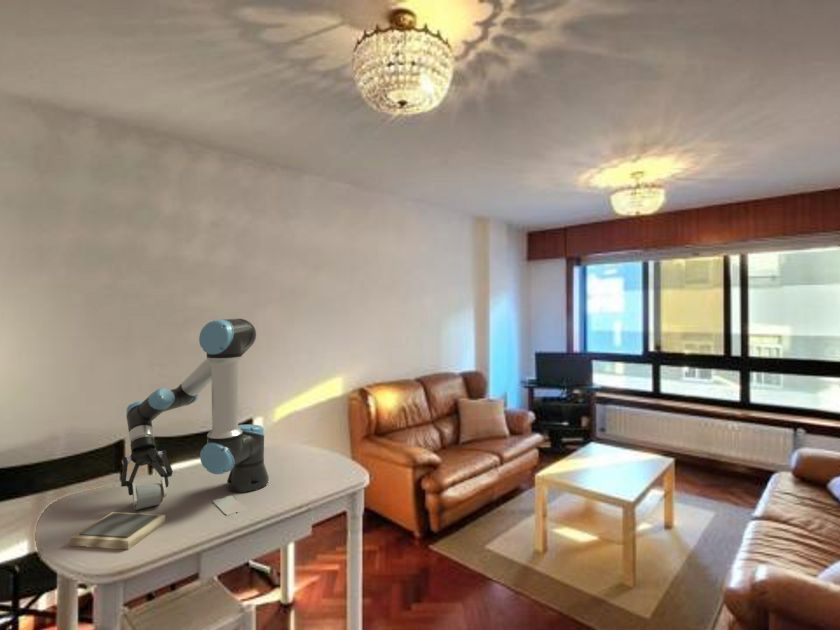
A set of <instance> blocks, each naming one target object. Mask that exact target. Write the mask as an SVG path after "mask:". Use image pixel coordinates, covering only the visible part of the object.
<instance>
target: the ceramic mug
mask: <svg viewBox="0 0 840 630" xmlns="http://www.w3.org/2000/svg"><path fill="white" fill-rule="evenodd" d="M135 487H136V495H137V504H136V505H134V504H133V507H134V510H135V511H137V510H143V509H146V508H150V507H155V506H158V505H161V503H163V500H164V498H163V487H162V485H161V482H160V483H157V482H156V483H150V484H141V485H135Z"/></svg>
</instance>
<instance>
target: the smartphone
mask: <svg viewBox="0 0 840 630" xmlns="http://www.w3.org/2000/svg"><path fill="white" fill-rule="evenodd" d="M237 500H238V499H237V497H235V496H234V495H232V494H231V495H227V496H223V497H219V498H215V499H212V501H211V503H212V502H213V503H214V504H213V503H212V504H213V505H214V506H215V507H216V506H217V507H218V508H219V509H220V510H221V511H222V512H223V513H224V514H226V515H229V516H231V515H230V514H231V513H230V512H229V510H228V509H227V508H229V509H231V506H233V505H232V504H234V503H235V502H237ZM217 507H216V508H217ZM218 508H217V509H218ZM219 509H218V510H219ZM224 509H227V511H228V512H224V511H225V510H224ZM220 510H219V511H220ZM221 511H220V512H221ZM222 512H221V513H222ZM223 513H222V514H223ZM224 514H223V515H224Z"/></svg>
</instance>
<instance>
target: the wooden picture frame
mask: <svg viewBox="0 0 840 630" xmlns="http://www.w3.org/2000/svg"><path fill="white" fill-rule="evenodd" d="M165 523H166V514H155V513H140V512H139V513H137V512H122V511H121V512H119V511H112V512H110V513H108V514H107V515H105V516H103V517H102V518H100V519H98V520H97V521H95V522H94V523H91V524H90V525H88V526H87V527H85V528H83V529H82V530H80V531H78V532H77V533H75V534H73V535H72V536H70V537H69V546H70V545H72V546H71V547H74V546H73V545H76V546H75V547H79V546H86V547H85V548H94V549H95V548H98V549H114V550H126V551H127V550H131V549H132V547H134V546H135V545H137V544H138V543H140V542H141V541H142V540H144V539H145V538H146V537H148V536H149V535H150V534H152V533H153V532H154V531H156V530H157V529H159V528H160V527H161V526H163V525H164V524H165Z"/></svg>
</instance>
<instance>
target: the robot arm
mask: <svg viewBox="0 0 840 630" xmlns="http://www.w3.org/2000/svg"><path fill="white" fill-rule="evenodd" d="M256 338H257V331H256V328H255V326H254V325H253V324H252V322H250V321H249V320H246V319H243V318H227V319H225V318H223V319H222V318H221V319H216V320H211V321H209V322H207V323H206V324H205V325H204V326H203V327H202V329H201V330H200V332H199V337H198V341H199V345H200V348H202V351H203V352H204V353H206V359H204V361H203V362H201V363H200V364H199V365H198V366H197V367H196V368H195V370H194V371H192V372H191V374H189V375H188V376H187V377H186V378H185V379H184V381H182V383H181V384H179V385H178V386H177V387H176V388H172V389H169V388H166V387H165V388H164V387H159V388H157V389H156V390H155V391H153V392H151V393H150V395H148V397H146V398H145V399H144V400H143V401H141V400H140V401H134V402H133V403H130V404H129V405H128V406H127V407H126V417H125V418H126V422H127V427H128V429H127V430H128V435H129V443H130V445H129V446H130V452H131V454H130V456H127V457H126V456H122V458H121V465H122V474H121V481H120V486H121V487H123V488H124V487H127V491H128V495H129V496H132V501H133V503H132V504H133V506H134V505H136V504H137V495H136V487H135V486H136V482H134V481H135V478H136V476H137V472H138V470H139V468H140V467H143V466H145V465H146V466H147V465H150V466H151V467H153V469H154V470H155V471H156V472H157V473H158V475H159V476H160V477H161V478H160V484H161V485H162V487H163V499H165V498H166V497H167V495H168V493H167V492H168V491H167V488H168V487H169V478H170V477H172V476H173V472H174V471H173V469H172V467H171V463H170V461H169V459H168V456H167V450H166V449H163V450H161V451H160V450H159V451H158V449H157V448H156V441H155V436H154V435H155V434H154V430H153V424H152V422H153V420H155V419H156V418H157V417H159V416H160V415H161V414H162V413H165V412H169V411H172V410H175V409H178V408H181V407H184V406H190V405H191V404H193V403H195V402H197V400H198V397H199V393H201V392H202V391H203V390H205V388H206V387H207V386H208V385H209V384H211V430H210V431H209V432H208V433H207V435H206V436H207V437H206V442H207V443H206V444H204V446H203V447H202V448H201V450H200V453H199V457H200V463H201V465H202V467H203V468H204V469H206V470H207V472H209V473H210V474H213V475H223V474H226V473H228V472H229V475H228V476H227V479H226V488H227V490H229V491H231V492H234V493H246V492H247V491H249V492H253V491H252V490H254V491H257V490H256V489H258V490H260V489H259V488H261V487H263V486H265V485H266V484H267V483H268V484H269V482H268V481H269V480H270V479H269V478H270V477H269V474H268V470H267V468H266V466H265V429H264V427H263V426H262V425H259V424H239V401H238V399H239V398H238V397H239V393H238V392H239V391H238V390H239V389H238V385H239V384H238V383H239V381H238V380H239V379H238V375H239V374H238V369H239V367H238V364H239V363H238V361H239V360H240V359H241V358H242V357H243V355H244V354H245V353H246V352H248V351H249V350H250V348H252V346H253V345H254V343H255V342H256ZM157 456H159V458H161V461H162V464H163V467H164V468H163V467H162V465H161V464H160V463H159V462H158V460H157ZM130 461H131V462H133V463H134V467H133V469H132V471H131V474H130V477H129V479H128V480H127V474H128V465H129V464H130ZM268 484H267V485H268ZM267 485H266V486H267ZM266 486H265V487H266ZM263 488H264V487H263ZM261 489H262V488H261ZM247 493H248V492H247Z"/></svg>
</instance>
